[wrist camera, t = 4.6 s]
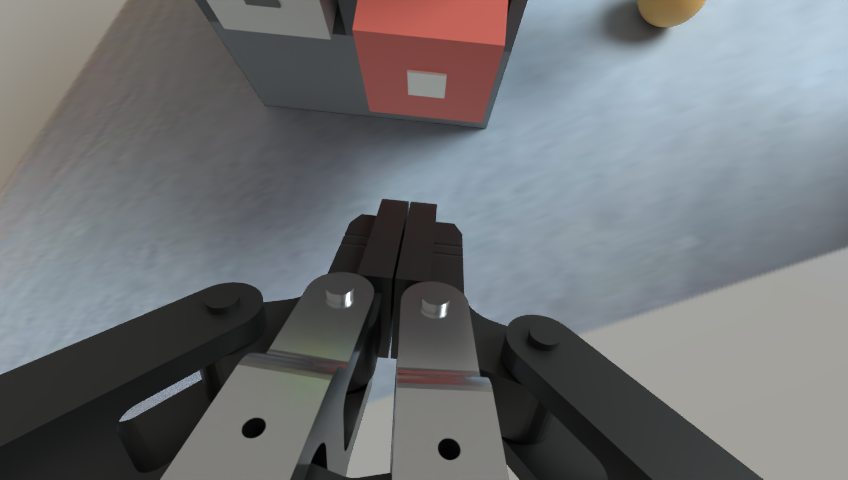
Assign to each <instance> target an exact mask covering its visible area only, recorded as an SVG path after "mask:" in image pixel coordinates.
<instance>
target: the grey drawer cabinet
mask: <svg viewBox="0 0 848 480" xmlns="http://www.w3.org/2000/svg"><path fill="white" fill-rule="evenodd" d="M195 1H196V2H197V4H198V5H199V7H200V8H201V10H202V11H203V13H204V14H205V16H206V17H207V19H208V20H209V22H210V23H211V25H212V26H213V28H214V29H215V31H216V32H217V34H218V35H219V37H220V38H221V40H222V41H223V43H224V45H225V46H226V48H227V49H228V51H229V52H230V54H231V55H232V57H233V58H234V60H235V61H236V63H237V64H238V66H239V67H240V69H241V70H242V72H243V73H244V75H245V76H246V78H247V79H248V81H249V82H250V84H251V85H252V87H253V88H254V90H255V91H256V93H257V94H258V96H259V97H260V99H261V100H262V102H263V103H264V105H269V106H278V107H288V108H297V109H307V110H316V111H326V112H336V113H345V114H355V115H364V116H374V117H383V118H393V119H402V120H412V121H421V122H431V123H440V124H450V125H459V126H469V127H479V128H486V127H487V124H488V121H489V118H490V115H491V112H492V109H493V106H494V102H495V99H496V96H497V93H498V90H499V87H500V84H501V81H502V78H503V75H504V72H505V69H506V65H507V62H508V59H509V56H510V53H511V50H512V47H513V44H514V41H515V38H516V35H517V31H518V28H519V25H520V22H521V19H522V16H523V13H524V10H525V7H526V4H527V1H528V0H508V9H507V23H506V37H505V47H504V50H503V54H502V57H501V60H500V64H499V67H498V70H497V74H496V77H495V81H494V84H493V87H492V91H491V94H490V97H489V101H488V104H487V108H486V111H485V114H484V118H483V121H482V123H477V122H467V121H458V120H448V119H439V118H429V117H419V116H410V115H400V114H391V113H381V112H372V111H370V110H369V105H368V101H367V96H366V91H365V87H364V82H363V77H362V73H361V68H360V63H359V59H358V54H357V50H356V45H355V40H354V36H353V31H352V29H353V23H354V17H355V12H356V6H357V0H338V4H337V10H336V15H335V21H334V26H333V31H332V37H331V40H329V39H319V38H309V37H300V36H290V35H280V34H270V33H261V32H251V31H241V30H232V29H224V27H223V26H222V24H221V23H220V21H219V19H218V18H217V16H216V15H215V13H214V11H213V10H212V8H211V7H210V5H209V3H208V2H207V0H195Z"/></svg>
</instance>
